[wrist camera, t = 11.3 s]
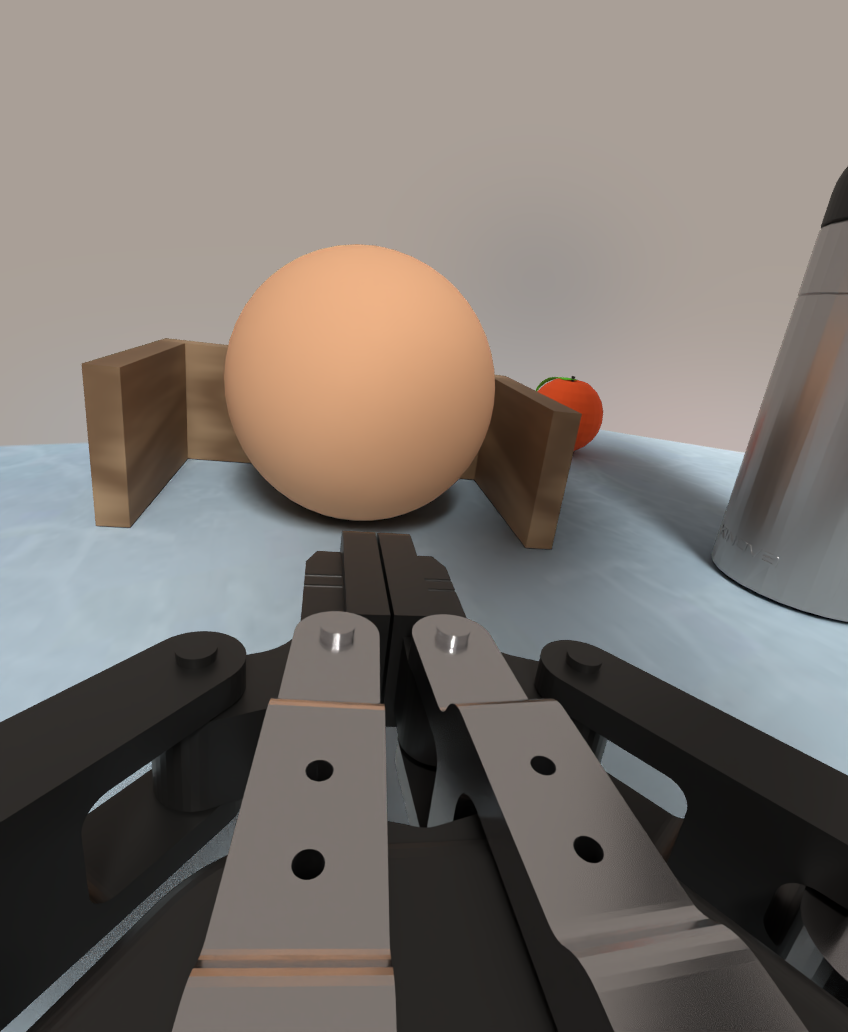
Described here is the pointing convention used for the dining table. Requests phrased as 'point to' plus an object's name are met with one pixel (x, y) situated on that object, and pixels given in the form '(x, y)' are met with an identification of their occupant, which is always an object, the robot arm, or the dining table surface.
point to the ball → (359, 382)
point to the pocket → (210, 436)
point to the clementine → (577, 404)
